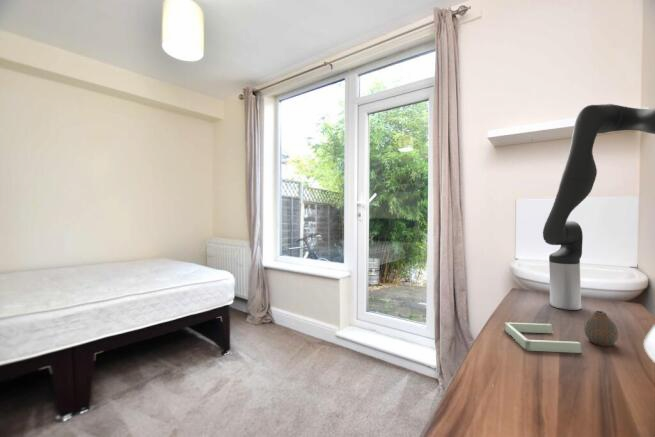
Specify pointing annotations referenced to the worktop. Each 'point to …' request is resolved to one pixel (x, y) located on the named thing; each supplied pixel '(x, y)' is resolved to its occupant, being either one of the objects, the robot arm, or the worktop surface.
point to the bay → (539, 345)
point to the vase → (601, 329)
